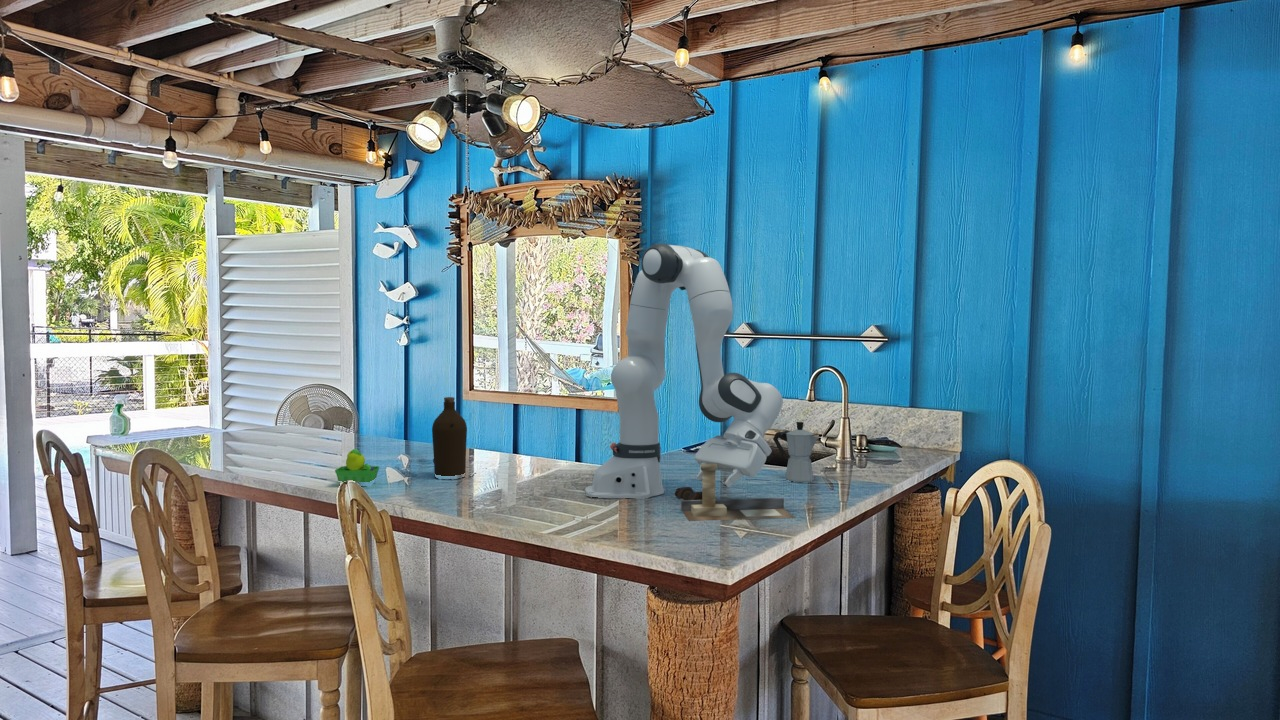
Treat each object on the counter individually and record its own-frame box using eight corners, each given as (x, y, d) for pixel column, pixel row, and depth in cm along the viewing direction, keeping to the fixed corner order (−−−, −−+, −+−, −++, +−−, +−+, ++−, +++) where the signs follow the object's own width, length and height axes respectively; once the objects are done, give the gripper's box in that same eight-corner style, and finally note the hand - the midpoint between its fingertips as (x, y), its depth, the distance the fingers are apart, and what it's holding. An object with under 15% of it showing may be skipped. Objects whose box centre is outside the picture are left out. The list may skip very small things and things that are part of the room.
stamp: (694, 516, 201) (694, 466, 200) (691, 512, 205) (691, 463, 204) (726, 515, 202) (726, 465, 201) (723, 511, 206) (723, 462, 205)
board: (688, 527, 197) (688, 510, 196) (680, 515, 209) (680, 499, 208) (795, 523, 200) (795, 507, 200) (781, 512, 212) (781, 496, 211)
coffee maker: (824, 480, 255) (824, 421, 254) (814, 484, 248) (815, 424, 247) (778, 475, 263) (778, 418, 262) (767, 479, 255) (768, 421, 255)
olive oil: (474, 476, 260) (473, 397, 259) (447, 481, 252) (446, 399, 251) (452, 472, 267) (452, 395, 266) (425, 477, 259) (424, 397, 258)
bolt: (682, 506, 228) (705, 516, 213) (667, 498, 226) (689, 508, 212) (692, 487, 228) (715, 496, 214) (677, 479, 227) (699, 487, 213)
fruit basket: (380, 482, 251) (380, 445, 251) (372, 488, 243) (371, 450, 242) (342, 482, 251) (341, 445, 250) (332, 488, 242) (332, 450, 242)
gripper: (707, 427, 216) (678, 468, 210) (764, 435, 199) (734, 480, 194) (720, 442, 219) (691, 484, 213) (777, 452, 202) (748, 497, 197)
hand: (712, 482), depth 203 cm, fingers open, 8 cm apart
